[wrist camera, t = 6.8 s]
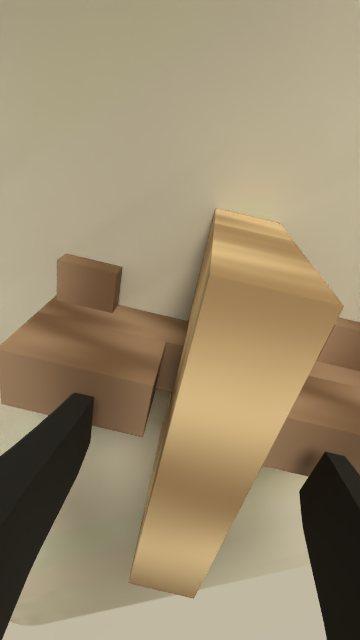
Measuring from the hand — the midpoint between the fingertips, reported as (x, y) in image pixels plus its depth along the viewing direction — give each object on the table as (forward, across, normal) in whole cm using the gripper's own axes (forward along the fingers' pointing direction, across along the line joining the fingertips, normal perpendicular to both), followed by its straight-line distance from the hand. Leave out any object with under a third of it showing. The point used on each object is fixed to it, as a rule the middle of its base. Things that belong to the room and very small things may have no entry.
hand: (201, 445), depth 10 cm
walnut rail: (+5, 0, 0) cm, 5 cm away
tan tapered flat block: (+5, 0, 0) cm, 5 cm away
